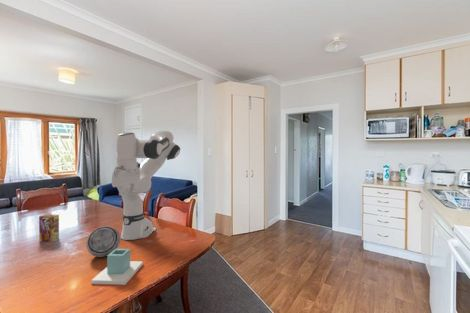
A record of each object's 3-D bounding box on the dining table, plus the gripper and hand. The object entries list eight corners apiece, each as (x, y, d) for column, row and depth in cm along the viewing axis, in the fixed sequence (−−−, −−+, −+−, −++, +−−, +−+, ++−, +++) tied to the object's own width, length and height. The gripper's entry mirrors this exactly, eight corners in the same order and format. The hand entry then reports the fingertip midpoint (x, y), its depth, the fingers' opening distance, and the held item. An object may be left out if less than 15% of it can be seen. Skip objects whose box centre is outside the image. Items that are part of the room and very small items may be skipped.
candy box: (59, 239, 136) (59, 214, 135) (53, 242, 131) (53, 216, 131) (45, 239, 136) (44, 214, 135) (38, 241, 131) (38, 216, 131)
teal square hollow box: (115, 266, 102) (115, 248, 101) (130, 266, 101) (130, 248, 101) (107, 274, 95) (107, 255, 95) (122, 274, 95) (122, 255, 95)
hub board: (113, 263, 106) (113, 260, 106) (142, 264, 106) (142, 261, 106) (91, 283, 90) (91, 280, 90) (125, 284, 90) (125, 281, 90)
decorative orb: (83, 264, 106) (83, 233, 105) (89, 251, 119) (89, 224, 118) (119, 258, 111) (118, 229, 111) (121, 247, 125) (120, 220, 124)
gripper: (121, 166, 99) (121, 197, 99) (142, 164, 119) (142, 189, 120) (107, 166, 99) (107, 197, 99) (130, 164, 119) (130, 189, 120)
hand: (126, 193), depth 110 cm, fingers open, 8 cm apart
